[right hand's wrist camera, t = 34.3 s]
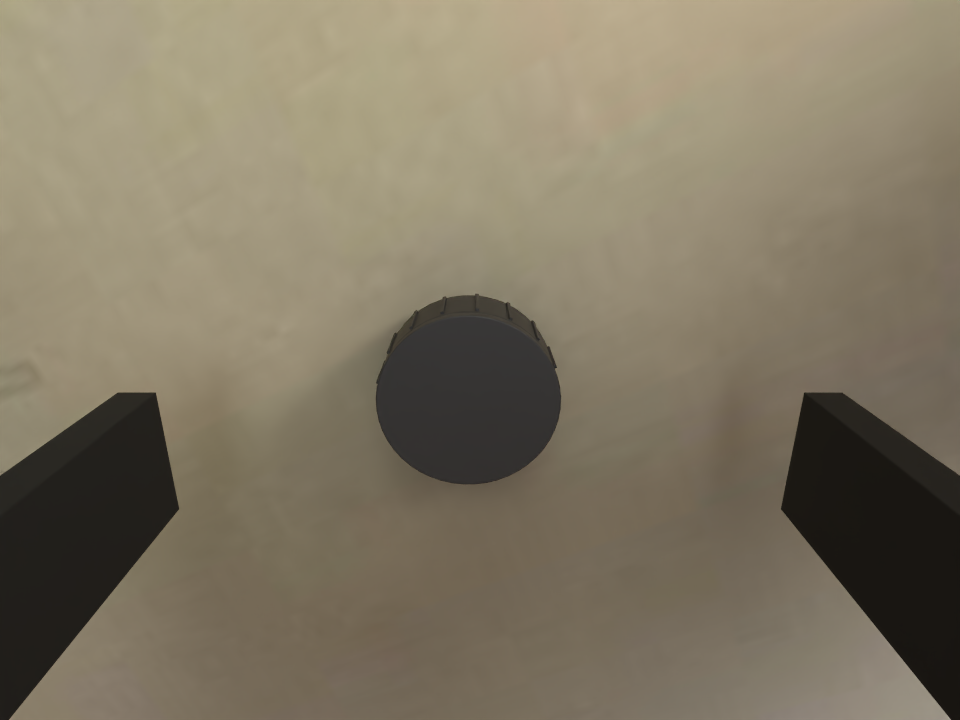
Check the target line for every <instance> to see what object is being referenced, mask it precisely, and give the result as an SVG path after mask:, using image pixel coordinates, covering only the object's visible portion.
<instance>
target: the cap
mask: <svg viewBox="0 0 960 720" xmlns="http://www.w3.org/2000/svg"><path fill="white" fill-rule="evenodd" d="M387 354H388V356H387V358H386V361H384V364H383V366H382V369H381V371H380V374H379V376H378V379H377V384H378V385H377V391H376V409H377V414H378V419H379V423H380V425H381V428H382V431H383V433H384V435H385V437H386V439H387V440H388V442H389V443H390V445H391V446H392V448H393V449H394V450H395V451H396V453H397V454H398V455H399V456H400V457H401V458H402V459H403V460H404V461H406V462H407V463H408V464H409V465H410V466H412V467H413V468H415V469H416V470H418V471H420V472H421V473H424V474H426V475H428V476H430V477H432V478H435V479H438V480H441V481H445V482H450V483H456V484H480V483H488V482H492V481H496V480H499V479H502V478H505V477H507V476H510V475H511V474H513V473H515V472H517V471H519V470H521V469H522V468H524V467H525V466H527V465H528V464H529V463H530V462H531V461H533V460H534V459H535V458H536V457H537V456H538V455H539V454H540V452H541V451H542V450H543V449H544V448H545V446H546V445H547V443H548V442H549V440H550V439H551V437H552V435H553V433H554V431H555V428H556V425H557V422H558V419H559V413H560V406H561V394H560V386H559V381H558V377H557V374H556V371H555V368H557V367H556V364H555V361H554V358H553V356H552V353H551V350H550V347H549V346H548V347H547V346H546V344H545V341H544V339H543V338H542V336H541V334H540V332H539V331H538V330H537V328H536V325H535V322H534V321H532V322H531V321H530V320H529V319H528V318H527V317H526V316H524V315H523V314H522V313H520V312H519V311H518V310H516V309H515V308H513V307H511V306H510V303H508V302H507V303H506V304H505V303H503V302H500V301H498V300H495V299H491V298H487V297H481V296H479V294H475V296H456V297H450V298H446V297H443V299H442V300H439V301H437V302H435V303H432V304H430V305H428V306H426V307H425V308H423V309H421V310H420V311H417V310H416V311H415V312H414V314H413V316H412V317H411V318H410V319H409V320H408V321H407V322H406V323H405V324H404V325H403V326H402V328H401V329H400V330H399V332H398V333H395V334H394V336H393V338H392V341H391V343H390V346H389V348H388V351H387Z"/></svg>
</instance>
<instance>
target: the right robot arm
mask: <svg viewBox="0 0 960 720" xmlns="http://www.w3.org/2000/svg"><path fill="white" fill-rule="evenodd" d="M178 510H179V506H178V501H177V496H176V491H175V486H174V481H173V476H172V471H171V466H170V461H169V456H168V451H167V446H166V441H165V436H164V431H163V427H162V422H161V417H160V412H159V407H158V402H157V397H156V393H117V394H115V395H114V396H112V397H111V398H110V399H108V400H107V401H105V402H104V403H103V404H101V405H100V406H98V407H97V408H95V409H94V410H93V411H91V412H90V413H88V414H87V415H86V416H84V417H83V418H81V419H80V420H78V421H77V422H76V423H74V424H73V425H71V426H70V427H69V428H67V429H66V430H64V431H63V432H62V433H60V434H59V435H57V436H56V437H54V438H53V439H52V440H50V441H49V442H47V443H46V444H45V445H43V446H42V447H40V448H39V449H37V450H36V451H35V452H33V453H32V454H30V455H29V456H28V457H26V458H25V459H23V460H22V461H21V462H19V463H18V464H16V465H15V466H13V467H12V468H11V469H9V470H8V471H6V472H5V473H4V474H2V475H1V476H0V720H9V719H10V718H11V716H12V715H13V714H14V713H15V711H16V710H17V709H18V708H19V706H20V705H21V704H22V703H23V701H24V700H25V699H26V698H27V697H28V695H29V694H30V693H31V692H32V690H33V689H34V688H35V687H36V685H37V684H38V683H39V682H40V680H41V679H42V678H43V677H44V676H45V674H46V673H47V672H48V671H49V669H50V668H51V667H52V666H53V664H54V663H55V662H56V661H57V659H58V658H59V657H60V656H61V654H62V653H63V652H64V651H65V650H66V648H67V647H68V646H69V645H70V643H71V642H72V641H73V640H74V638H75V637H76V636H77V635H78V633H79V632H80V631H81V630H82V628H83V627H84V626H85V625H86V624H87V622H88V621H89V620H90V619H91V617H92V616H93V615H94V614H95V612H96V611H97V610H98V609H99V607H100V606H101V605H102V604H103V603H104V601H105V600H106V599H107V598H108V596H109V595H110V594H111V593H112V591H113V590H114V589H115V588H116V586H117V585H118V584H119V583H120V581H121V580H122V579H123V578H124V577H125V575H126V574H127V573H128V572H129V570H130V569H131V568H132V567H133V565H134V564H135V563H136V562H137V560H138V559H139V558H140V557H141V555H142V554H143V553H144V552H145V551H146V549H147V548H148V547H149V546H150V544H151V543H152V542H153V541H154V539H155V538H156V537H157V536H158V534H159V533H160V532H161V531H162V529H163V528H164V527H165V526H166V525H167V523H168V522H169V521H170V520H171V518H172V517H173V516H174V515H175V513H176V512H177V511H178ZM781 510H782V511H783V512H784V513H785V515H786V516H787V517H788V518H789V520H790V521H791V522H792V523H793V525H794V526H795V527H796V528H797V530H798V531H799V532H800V533H801V534H802V536H803V537H804V538H805V539H806V541H807V542H808V543H809V544H810V546H811V547H812V548H813V549H814V551H815V552H816V553H817V554H818V555H819V557H820V558H821V559H822V560H823V562H824V563H825V564H826V565H827V567H828V568H829V569H830V570H831V572H832V573H833V574H834V575H835V577H836V578H837V579H838V580H839V581H840V583H841V584H842V585H843V586H844V588H845V589H846V590H847V591H848V593H849V594H850V595H851V596H852V598H853V599H854V600H855V601H856V603H857V604H858V605H859V606H860V607H861V609H862V610H863V611H864V612H865V614H866V615H867V616H868V617H869V619H870V620H871V621H872V622H873V624H874V625H875V626H876V627H877V628H878V630H879V631H880V632H881V633H882V635H883V636H884V637H885V638H886V640H887V641H888V642H889V643H890V645H891V646H892V647H893V648H894V650H895V651H896V652H897V653H898V654H899V656H900V657H901V658H902V659H903V661H904V662H905V663H906V664H907V666H908V667H909V668H910V669H911V671H912V672H913V673H914V674H915V676H916V677H917V678H918V679H919V680H920V682H921V683H922V684H923V685H924V687H925V688H926V689H927V690H928V692H929V693H930V694H931V695H932V697H933V698H934V699H935V700H936V701H937V703H938V704H939V705H940V706H941V708H942V709H943V710H944V711H945V713H946V714H947V715H948V716H949V718H950V719H951V720H960V476H959V475H958V474H956V473H955V472H954V471H952V470H951V469H949V468H948V467H947V466H945V465H944V464H942V463H941V462H939V461H938V460H937V459H935V458H934V457H932V456H931V455H930V454H928V453H927V452H925V451H924V450H923V449H921V448H920V447H918V446H917V445H915V444H914V443H913V442H911V441H910V440H908V439H907V438H906V437H904V436H903V435H901V434H900V433H898V432H897V431H896V430H894V429H893V428H891V427H890V426H889V425H887V424H886V423H884V422H883V421H882V420H880V419H879V418H877V417H876V416H874V415H873V414H872V413H870V412H869V411H867V410H866V409H865V408H863V407H862V406H860V405H859V404H857V403H856V402H855V401H853V400H852V399H850V398H849V397H848V396H846V395H845V394H843V393H804V397H803V402H802V407H801V412H800V417H799V422H798V427H797V431H796V436H795V441H794V446H793V451H792V456H791V461H790V466H789V471H788V476H787V481H786V486H785V491H784V496H783V501H782V506H781Z"/></svg>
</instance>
